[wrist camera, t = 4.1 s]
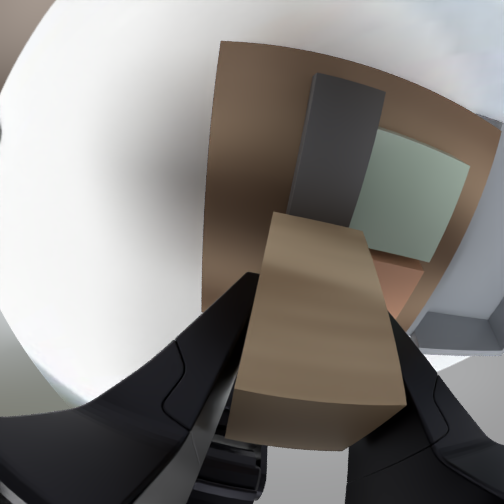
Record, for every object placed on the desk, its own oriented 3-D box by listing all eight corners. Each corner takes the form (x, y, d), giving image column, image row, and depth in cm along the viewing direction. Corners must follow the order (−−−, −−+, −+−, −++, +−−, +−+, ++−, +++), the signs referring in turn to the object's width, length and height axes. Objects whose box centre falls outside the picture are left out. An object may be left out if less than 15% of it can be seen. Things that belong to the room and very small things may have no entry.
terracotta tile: (379, 317, 14) (383, 337, 13) (303, 304, 14) (303, 325, 13) (414, 252, 12) (424, 271, 10) (328, 231, 12) (331, 250, 11)
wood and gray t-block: (306, 324, 15) (295, 476, 8) (253, 314, 15) (219, 465, 8) (378, 94, 8) (568, 153, 1) (298, 73, 8) (301, 8, 1)
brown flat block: (388, 312, 18) (396, 344, 15) (214, 279, 18) (201, 311, 16) (470, 119, 10) (501, 131, 7) (237, 50, 10) (220, 41, 8)
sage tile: (418, 243, 11) (429, 262, 10) (331, 222, 12) (334, 240, 10) (452, 155, 9) (470, 166, 7) (358, 120, 9) (367, 125, 8)
